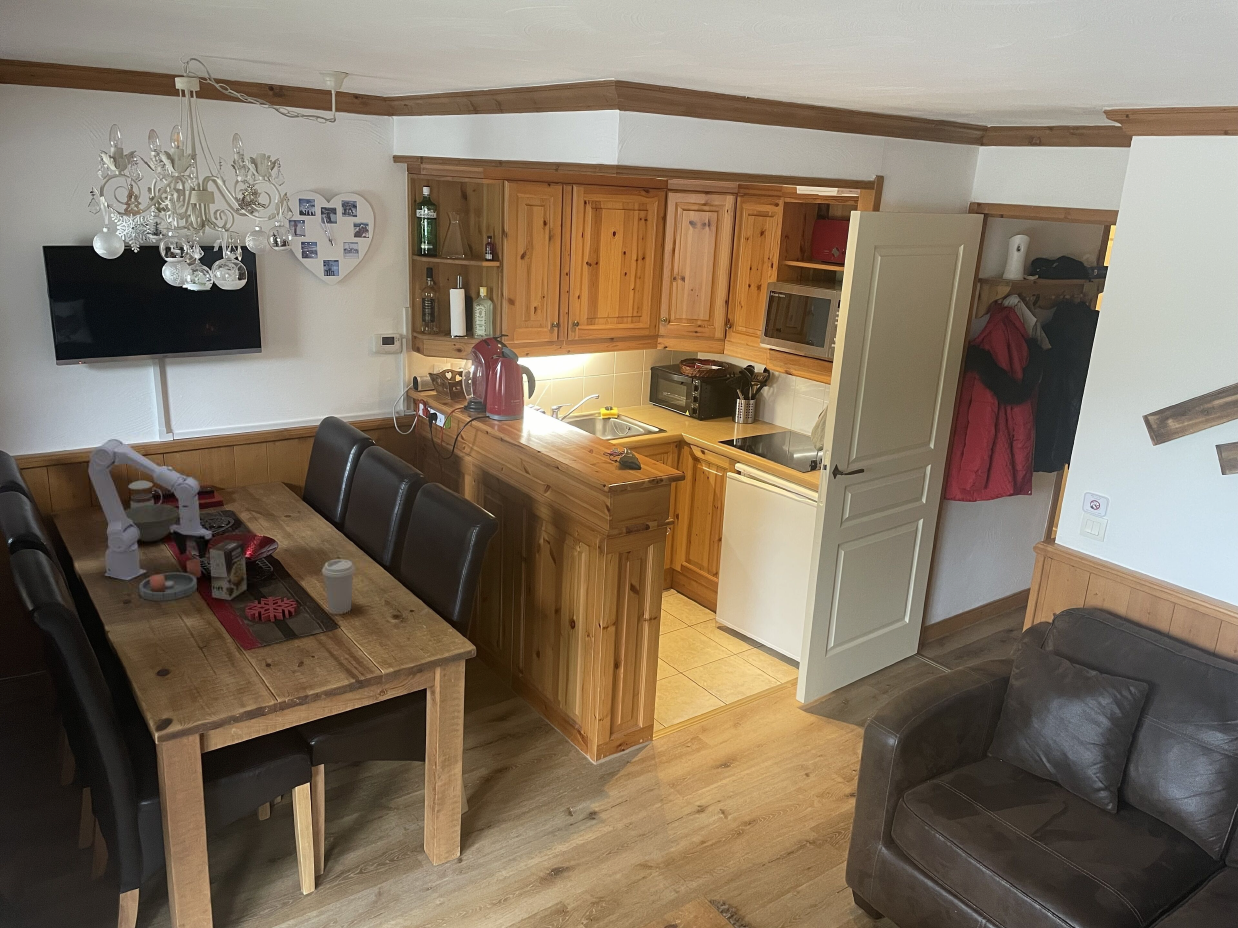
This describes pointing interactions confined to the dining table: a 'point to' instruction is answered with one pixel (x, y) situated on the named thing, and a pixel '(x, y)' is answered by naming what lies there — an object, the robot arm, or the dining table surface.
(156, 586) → the bead
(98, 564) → the dining table surface
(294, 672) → the dining table surface
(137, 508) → the bowl
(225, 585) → the coffee box
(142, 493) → the french press
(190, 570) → the bead
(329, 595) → the coffee cup
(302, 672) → the dining table surface
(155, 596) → the round tray
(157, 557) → the dining table surface
